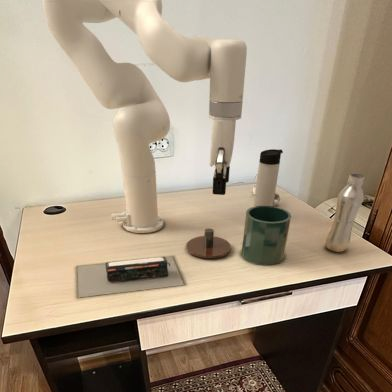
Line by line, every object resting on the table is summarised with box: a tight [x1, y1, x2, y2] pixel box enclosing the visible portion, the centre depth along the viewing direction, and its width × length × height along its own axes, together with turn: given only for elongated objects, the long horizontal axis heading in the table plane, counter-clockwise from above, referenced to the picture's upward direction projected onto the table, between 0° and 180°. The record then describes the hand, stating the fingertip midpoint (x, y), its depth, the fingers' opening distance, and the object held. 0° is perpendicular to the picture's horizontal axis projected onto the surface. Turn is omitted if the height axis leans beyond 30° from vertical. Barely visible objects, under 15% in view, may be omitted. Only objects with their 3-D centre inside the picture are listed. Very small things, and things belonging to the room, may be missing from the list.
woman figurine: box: [248, 185, 281, 207], centre depth 132 cm, size 12×4×18 cm
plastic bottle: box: [325, 173, 365, 253], centre depth 98 cm, size 6×7×20 cm
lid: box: [185, 227, 232, 259], centre depth 101 cm, size 13×13×6 cm
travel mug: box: [253, 148, 284, 207], centre depth 115 cm, size 6×7×20 cm
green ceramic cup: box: [241, 206, 292, 266], centre depth 97 cm, size 12×12×12 cm
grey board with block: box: [77, 256, 185, 298], centre depth 90 cm, size 14×25×4 cm, turn 104°
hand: (220, 187), depth 94 cm, fingers open, 9 cm apart
